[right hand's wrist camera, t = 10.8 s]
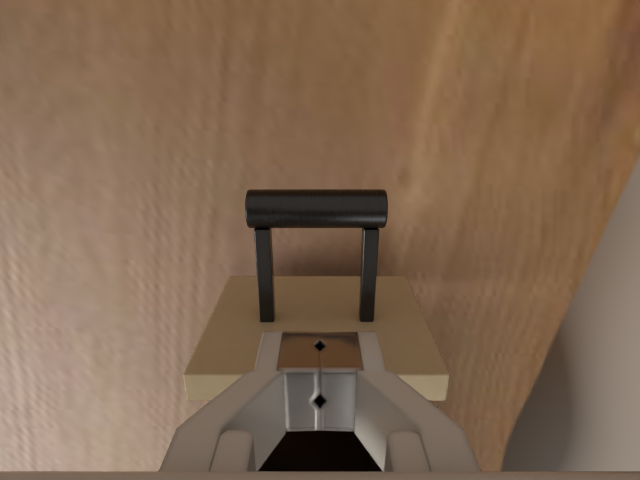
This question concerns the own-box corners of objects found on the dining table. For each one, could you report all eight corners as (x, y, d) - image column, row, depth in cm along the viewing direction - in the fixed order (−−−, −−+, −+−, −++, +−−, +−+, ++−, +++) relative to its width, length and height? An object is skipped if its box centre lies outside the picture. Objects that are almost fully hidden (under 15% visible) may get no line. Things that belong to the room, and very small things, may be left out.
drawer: (218, 168, 19) (156, 220, 12) (415, 168, 19) (474, 220, 12) (247, 465, 26) (219, 608, 19) (389, 465, 26) (415, 608, 19)
